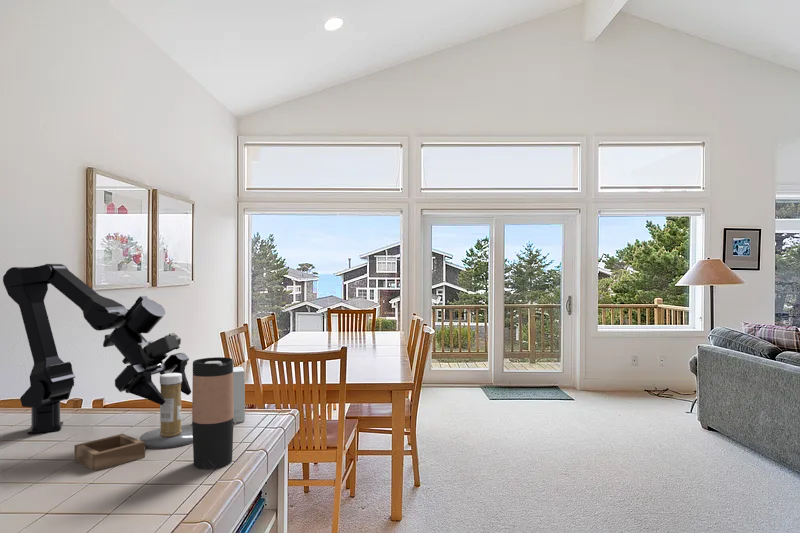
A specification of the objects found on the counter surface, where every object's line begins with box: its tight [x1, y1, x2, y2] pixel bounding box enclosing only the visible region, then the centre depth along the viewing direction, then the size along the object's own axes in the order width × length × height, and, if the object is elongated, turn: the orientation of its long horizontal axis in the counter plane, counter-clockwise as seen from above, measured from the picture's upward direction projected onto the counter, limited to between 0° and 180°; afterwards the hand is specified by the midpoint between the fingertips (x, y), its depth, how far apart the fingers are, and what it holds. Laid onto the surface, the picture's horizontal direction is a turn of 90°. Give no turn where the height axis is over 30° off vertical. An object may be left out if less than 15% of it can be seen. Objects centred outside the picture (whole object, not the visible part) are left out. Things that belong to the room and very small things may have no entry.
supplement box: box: [233, 366, 246, 423], centre depth 135 cm, size 7×7×13 cm
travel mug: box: [191, 356, 234, 470], centre depth 105 cm, size 8×8×20 cm
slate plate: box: [139, 425, 193, 449], centre depth 120 cm, size 13×13×1 cm
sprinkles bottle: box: [159, 373, 182, 437], centre depth 119 cm, size 5×5×14 cm
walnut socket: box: [73, 433, 146, 472], centre depth 107 cm, size 9×9×3 cm
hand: (177, 398), depth 119 cm, fingers open, 9 cm apart
